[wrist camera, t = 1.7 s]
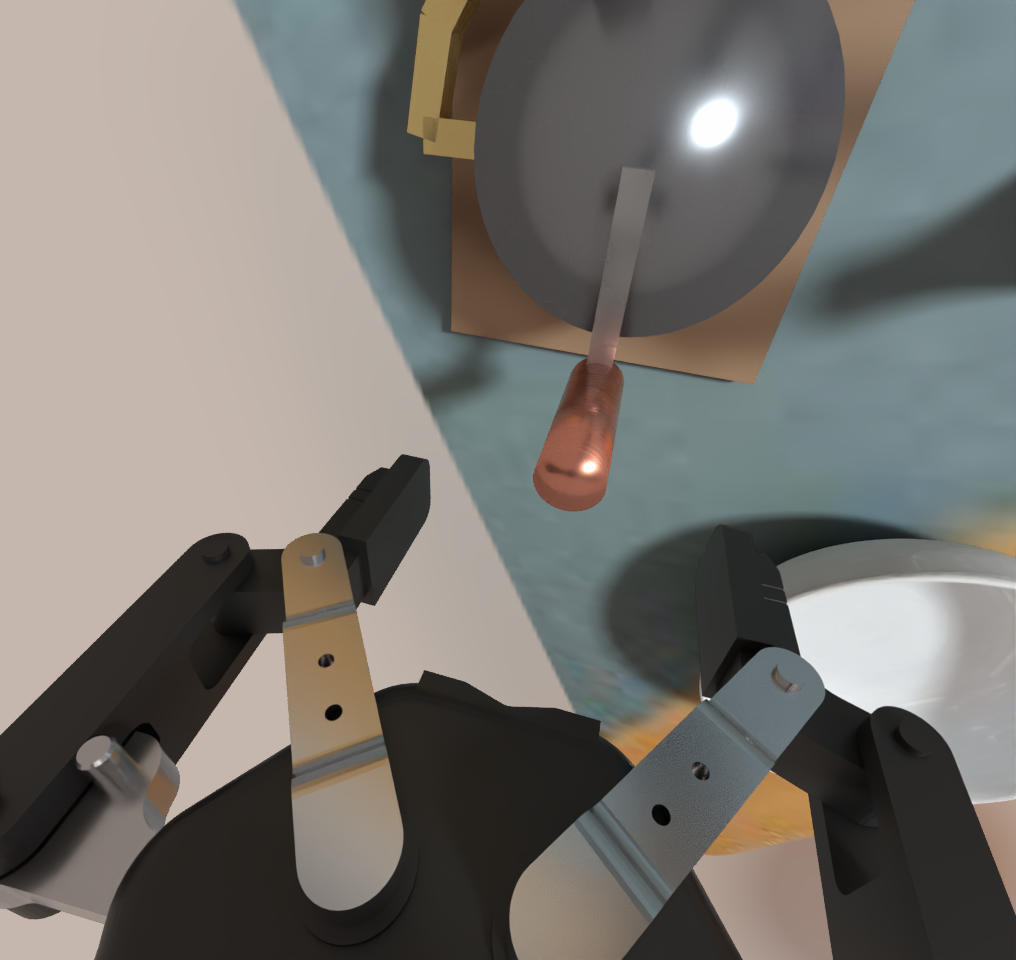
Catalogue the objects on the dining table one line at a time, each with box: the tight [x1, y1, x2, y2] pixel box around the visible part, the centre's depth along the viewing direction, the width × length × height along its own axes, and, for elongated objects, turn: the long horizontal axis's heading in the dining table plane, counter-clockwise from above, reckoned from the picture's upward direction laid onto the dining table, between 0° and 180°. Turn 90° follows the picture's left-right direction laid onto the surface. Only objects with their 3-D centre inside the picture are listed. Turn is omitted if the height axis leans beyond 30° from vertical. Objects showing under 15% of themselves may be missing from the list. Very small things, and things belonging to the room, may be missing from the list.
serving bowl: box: [699, 539, 1016, 804], centre depth 30 cm, size 21×21×7 cm
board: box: [451, 0, 915, 384], centre depth 20 cm, size 22×16×1 cm
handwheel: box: [407, 0, 845, 511], centre depth 15 cm, size 18×15×13 cm
